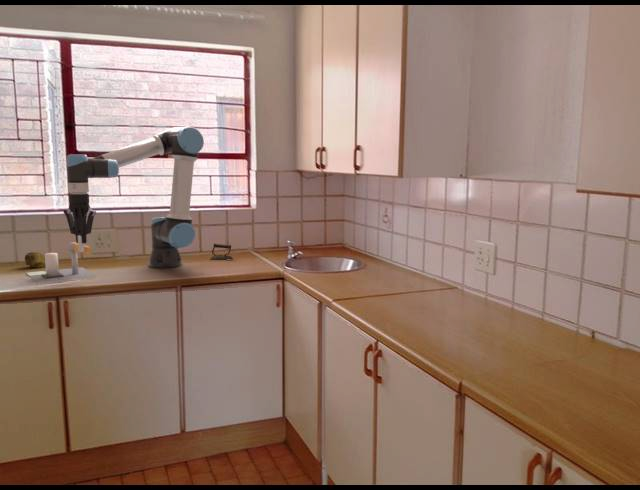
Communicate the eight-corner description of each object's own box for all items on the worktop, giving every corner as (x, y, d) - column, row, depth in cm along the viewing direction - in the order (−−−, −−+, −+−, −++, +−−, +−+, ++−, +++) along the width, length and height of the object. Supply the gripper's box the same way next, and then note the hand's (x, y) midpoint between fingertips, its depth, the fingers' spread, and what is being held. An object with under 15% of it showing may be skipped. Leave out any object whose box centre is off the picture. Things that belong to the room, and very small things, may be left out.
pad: (44, 271, 242) (44, 270, 242) (48, 274, 237) (47, 273, 237) (26, 273, 238) (26, 272, 238) (29, 276, 233) (29, 275, 233)
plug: (57, 273, 238) (56, 252, 236) (60, 275, 234) (58, 254, 232) (45, 274, 235) (43, 253, 233) (47, 276, 231) (46, 255, 230)
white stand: (82, 269, 253) (81, 245, 252) (95, 278, 237) (94, 252, 235) (26, 275, 240) (24, 250, 238) (36, 285, 223) (34, 258, 221)
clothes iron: (212, 258, 286) (217, 240, 285) (233, 264, 285) (238, 246, 284) (208, 260, 279) (213, 240, 278) (229, 266, 278) (234, 246, 277)
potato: (58, 268, 254) (57, 251, 253) (27, 272, 246) (26, 254, 245) (53, 265, 261) (52, 248, 259) (23, 268, 253) (21, 251, 251)
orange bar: (67, 249, 238) (66, 242, 238) (76, 248, 241) (76, 241, 240) (84, 254, 227) (83, 247, 227) (93, 253, 230) (93, 246, 230)
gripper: (58, 193, 221) (61, 252, 225) (88, 194, 219) (91, 253, 223) (69, 192, 228) (72, 249, 232) (98, 193, 226) (101, 250, 230)
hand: (81, 251), depth 227 cm, fingers closed
